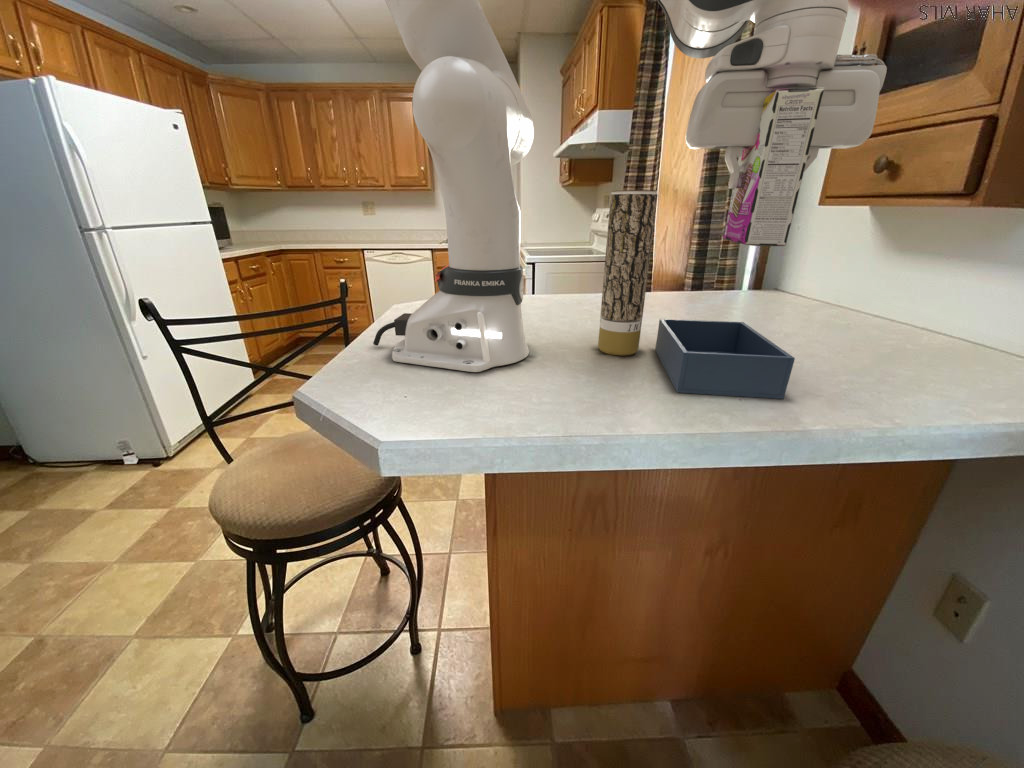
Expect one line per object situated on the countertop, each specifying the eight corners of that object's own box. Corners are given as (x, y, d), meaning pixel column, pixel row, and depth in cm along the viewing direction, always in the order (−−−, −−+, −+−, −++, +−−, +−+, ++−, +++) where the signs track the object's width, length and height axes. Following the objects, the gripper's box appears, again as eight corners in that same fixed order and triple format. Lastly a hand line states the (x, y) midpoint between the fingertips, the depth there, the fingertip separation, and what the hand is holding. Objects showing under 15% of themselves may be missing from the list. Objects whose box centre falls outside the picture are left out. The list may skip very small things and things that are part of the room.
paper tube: (593, 354, 71) (607, 190, 61) (601, 343, 77) (615, 192, 67) (635, 359, 69) (656, 190, 59) (640, 347, 74) (659, 191, 65)
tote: (677, 392, 56) (683, 352, 54) (655, 350, 73) (659, 318, 71) (783, 399, 54) (795, 358, 52) (736, 354, 71) (743, 321, 69)
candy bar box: (720, 239, 62) (745, 108, 56) (756, 240, 61) (787, 107, 55) (742, 245, 52) (777, 86, 45) (787, 247, 51) (829, 84, 45)
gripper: (873, 62, 50) (837, 190, 55) (693, 67, 53) (675, 188, 58) (911, 43, 44) (866, 188, 50) (707, 49, 47) (685, 186, 52)
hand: (762, 188), depth 54 cm, fingers closed on candy bar box, 5 cm apart
